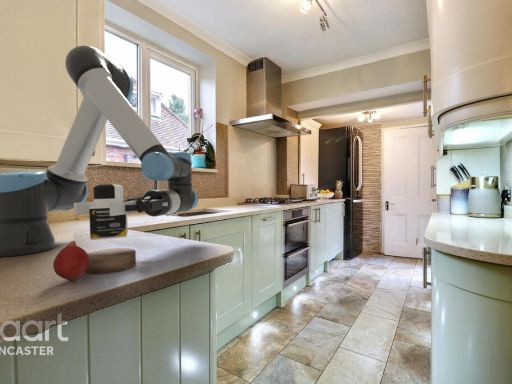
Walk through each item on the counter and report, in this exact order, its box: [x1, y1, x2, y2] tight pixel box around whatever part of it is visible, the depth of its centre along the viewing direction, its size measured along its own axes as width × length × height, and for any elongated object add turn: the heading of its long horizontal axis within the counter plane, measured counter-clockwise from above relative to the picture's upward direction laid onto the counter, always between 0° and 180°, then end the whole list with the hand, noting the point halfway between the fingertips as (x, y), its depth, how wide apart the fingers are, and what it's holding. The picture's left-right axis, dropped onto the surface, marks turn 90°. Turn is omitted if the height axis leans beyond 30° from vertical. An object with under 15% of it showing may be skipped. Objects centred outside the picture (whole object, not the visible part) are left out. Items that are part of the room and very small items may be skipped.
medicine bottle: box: [88, 183, 129, 241], centre depth 63 cm, size 7×7×12 cm
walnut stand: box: [83, 247, 137, 275], centre depth 63 cm, size 11×11×3 cm
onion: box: [52, 240, 89, 282], centre depth 53 cm, size 6×6×8 cm
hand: (92, 209), depth 59 cm, fingers closed on medicine bottle, 10 cm apart
